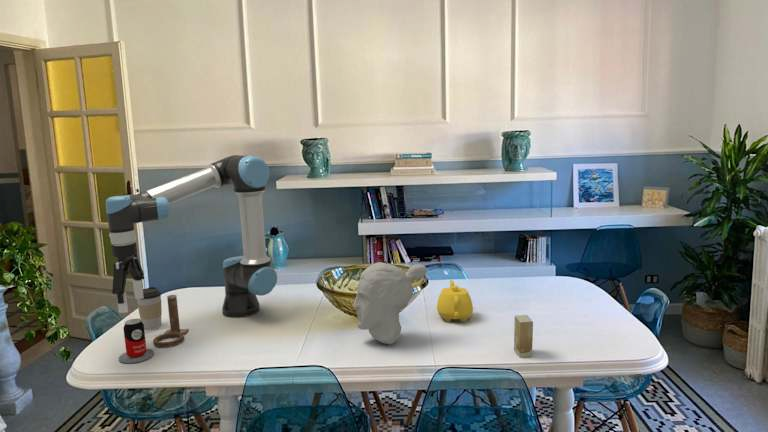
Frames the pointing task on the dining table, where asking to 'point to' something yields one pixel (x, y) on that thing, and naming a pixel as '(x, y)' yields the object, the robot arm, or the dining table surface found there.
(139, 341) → the beverage can
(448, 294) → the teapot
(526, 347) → the skincare box
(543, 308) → the dining table surface
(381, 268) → the bust
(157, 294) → the coffee cup
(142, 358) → the slate coaster
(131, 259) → the robot arm
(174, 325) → the ring holder
